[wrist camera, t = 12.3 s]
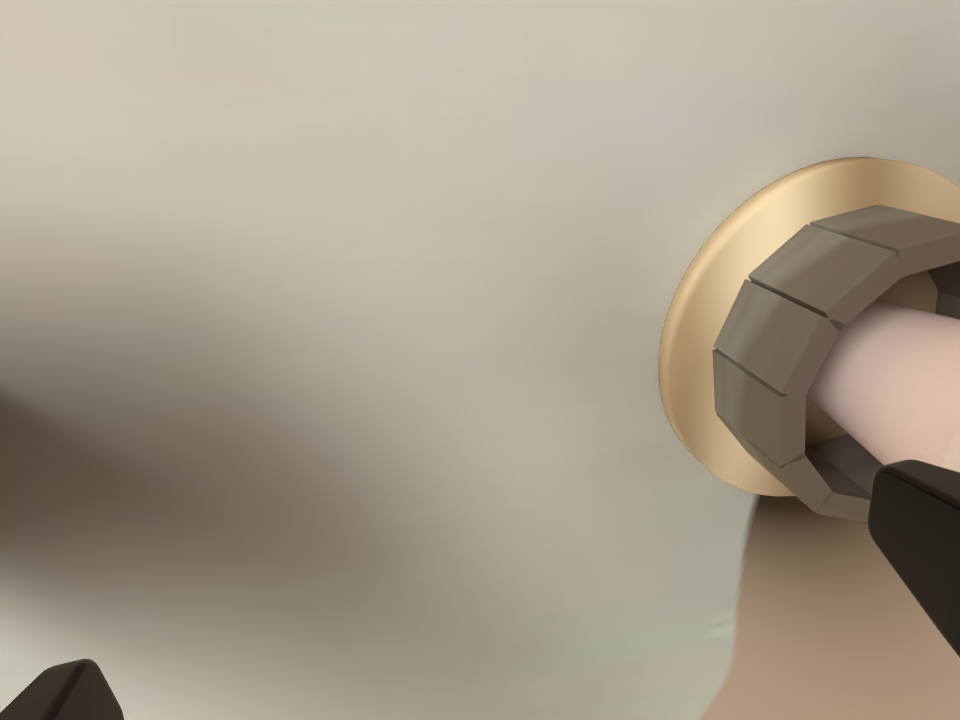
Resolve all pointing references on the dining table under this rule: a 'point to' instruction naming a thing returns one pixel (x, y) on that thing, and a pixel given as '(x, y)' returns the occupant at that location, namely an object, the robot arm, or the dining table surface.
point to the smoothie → (896, 384)
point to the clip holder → (800, 320)
